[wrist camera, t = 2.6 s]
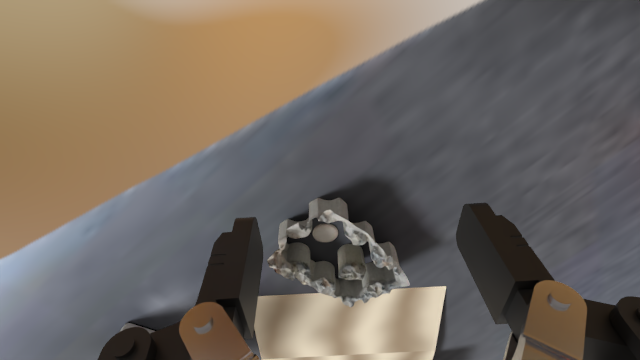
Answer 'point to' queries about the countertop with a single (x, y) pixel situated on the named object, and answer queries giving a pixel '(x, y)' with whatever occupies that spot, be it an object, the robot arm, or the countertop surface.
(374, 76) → the countertop surface
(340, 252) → the grey irregular chunky piece
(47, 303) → the countertop surface
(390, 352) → the beige and grey tray
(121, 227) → the countertop surface
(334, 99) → the countertop surface
